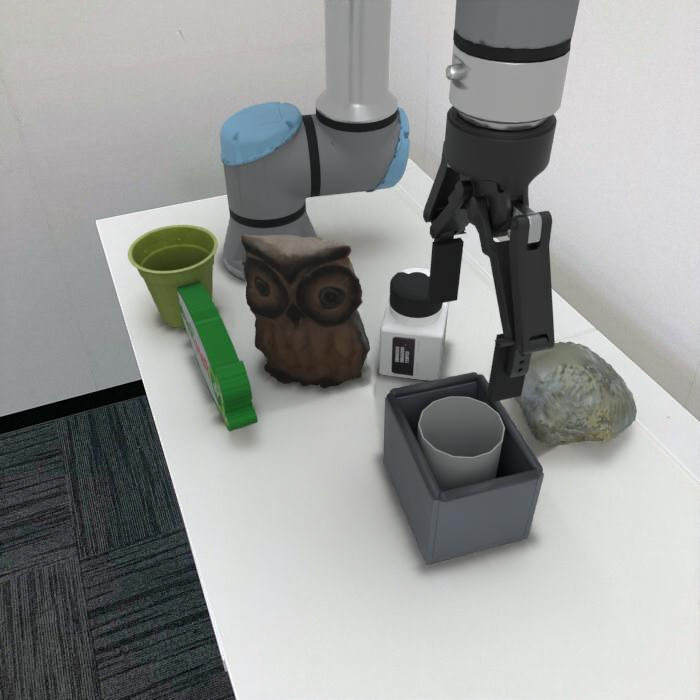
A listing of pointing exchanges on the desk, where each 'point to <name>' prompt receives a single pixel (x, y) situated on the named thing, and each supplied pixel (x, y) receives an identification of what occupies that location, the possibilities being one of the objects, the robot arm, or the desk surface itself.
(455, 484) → the cup
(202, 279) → the plant pot
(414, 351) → the container
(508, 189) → the robot arm
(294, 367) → the owl
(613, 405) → the decorative stone
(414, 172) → the desk surface
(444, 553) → the basket
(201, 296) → the sign
